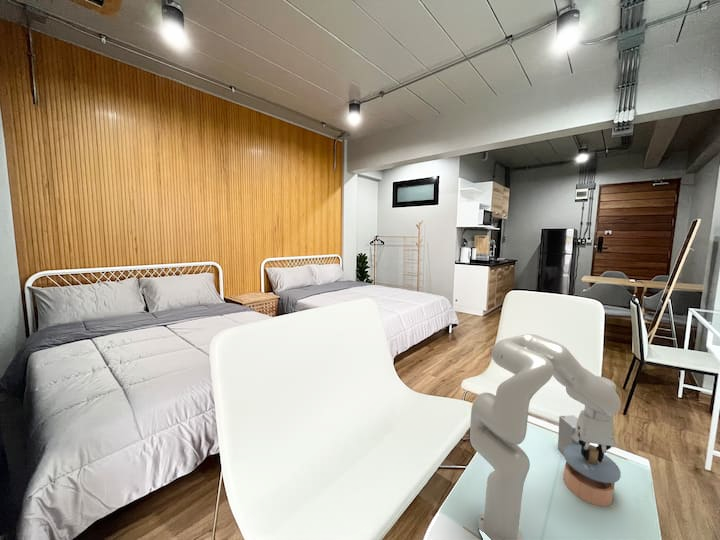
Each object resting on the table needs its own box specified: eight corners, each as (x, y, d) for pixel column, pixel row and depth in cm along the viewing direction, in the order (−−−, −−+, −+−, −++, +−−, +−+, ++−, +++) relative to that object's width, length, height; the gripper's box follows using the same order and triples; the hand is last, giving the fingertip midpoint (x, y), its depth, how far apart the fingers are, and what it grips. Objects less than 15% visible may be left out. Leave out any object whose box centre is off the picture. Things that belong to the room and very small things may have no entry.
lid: (631, 487, 95) (634, 471, 94) (576, 477, 99) (578, 461, 98) (603, 451, 111) (605, 436, 110) (556, 444, 114) (558, 429, 113)
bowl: (621, 510, 98) (624, 494, 97) (574, 500, 101) (576, 485, 100) (598, 476, 111) (600, 462, 110) (557, 468, 115) (559, 455, 114)
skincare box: (586, 463, 117) (591, 428, 115) (569, 463, 117) (573, 428, 115) (571, 447, 126) (575, 414, 123) (554, 447, 125) (559, 414, 123)
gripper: (619, 409, 103) (612, 454, 106) (566, 402, 107) (561, 446, 110) (633, 423, 96) (625, 471, 99) (576, 415, 100) (570, 461, 103)
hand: (591, 457), depth 104 cm, fingers closed on lid, 3 cm apart
